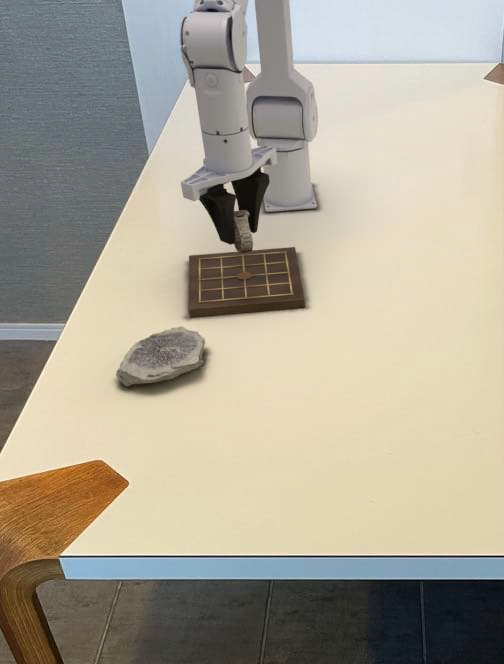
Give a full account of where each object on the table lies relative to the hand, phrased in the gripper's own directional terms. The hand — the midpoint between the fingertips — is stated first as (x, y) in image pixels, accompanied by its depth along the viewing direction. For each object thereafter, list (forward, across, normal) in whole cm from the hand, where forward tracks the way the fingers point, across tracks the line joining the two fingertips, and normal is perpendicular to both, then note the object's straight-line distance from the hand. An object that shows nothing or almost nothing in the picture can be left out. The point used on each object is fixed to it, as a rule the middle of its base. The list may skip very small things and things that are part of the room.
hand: (239, 235), depth 112 cm
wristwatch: (+2, +1, +1) cm, 2 cm away
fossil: (+7, +20, +7) cm, 23 cm away
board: (+7, 0, 0) cm, 7 cm away
